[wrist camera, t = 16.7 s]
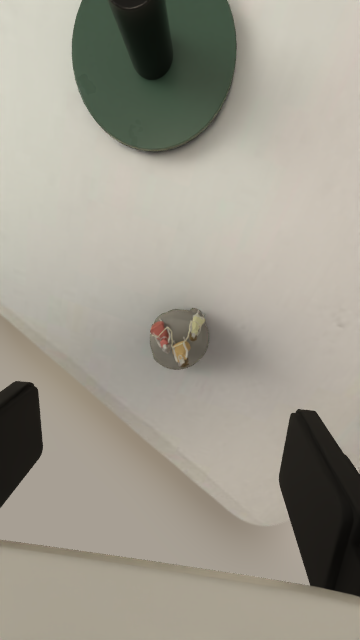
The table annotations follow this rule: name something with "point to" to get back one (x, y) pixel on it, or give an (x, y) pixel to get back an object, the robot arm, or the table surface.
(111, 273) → the table surface
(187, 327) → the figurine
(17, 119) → the table surface
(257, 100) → the table surface
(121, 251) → the table surface
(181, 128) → the trash can lid
